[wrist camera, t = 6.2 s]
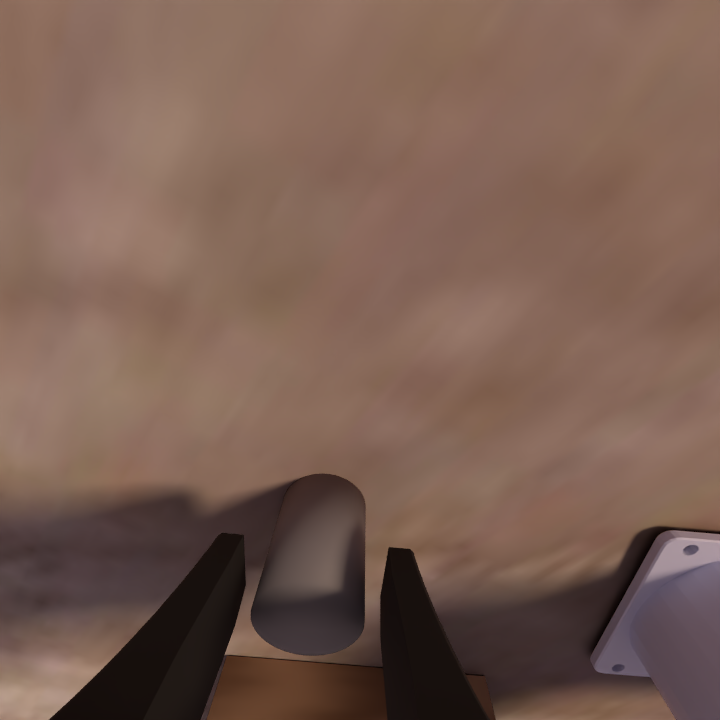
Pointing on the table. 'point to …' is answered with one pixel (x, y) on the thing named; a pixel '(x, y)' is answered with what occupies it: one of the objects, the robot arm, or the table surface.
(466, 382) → the table surface
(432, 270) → the table surface
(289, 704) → the walnut crate
